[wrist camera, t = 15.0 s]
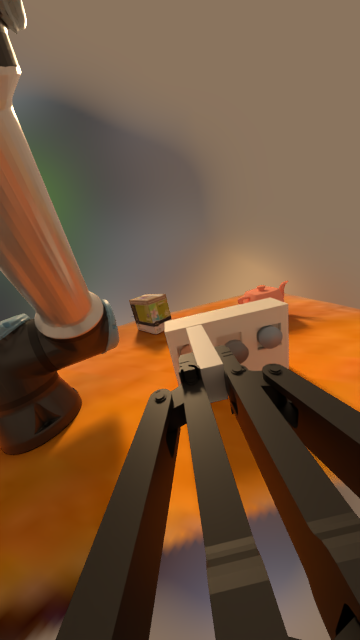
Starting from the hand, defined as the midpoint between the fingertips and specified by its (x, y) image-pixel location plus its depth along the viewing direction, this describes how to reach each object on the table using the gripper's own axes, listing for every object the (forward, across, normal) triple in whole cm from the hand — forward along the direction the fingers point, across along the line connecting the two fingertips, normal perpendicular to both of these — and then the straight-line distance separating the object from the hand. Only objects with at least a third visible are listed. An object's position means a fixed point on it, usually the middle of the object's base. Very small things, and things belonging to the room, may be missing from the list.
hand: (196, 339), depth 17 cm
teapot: (+45, +31, -21) cm, 59 cm away
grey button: (+13, +8, -13) cm, 20 cm away
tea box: (+60, -12, -22) cm, 65 cm away
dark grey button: (+15, +16, -13) cm, 26 cm away
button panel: (+18, +8, -20) cm, 28 cm away
